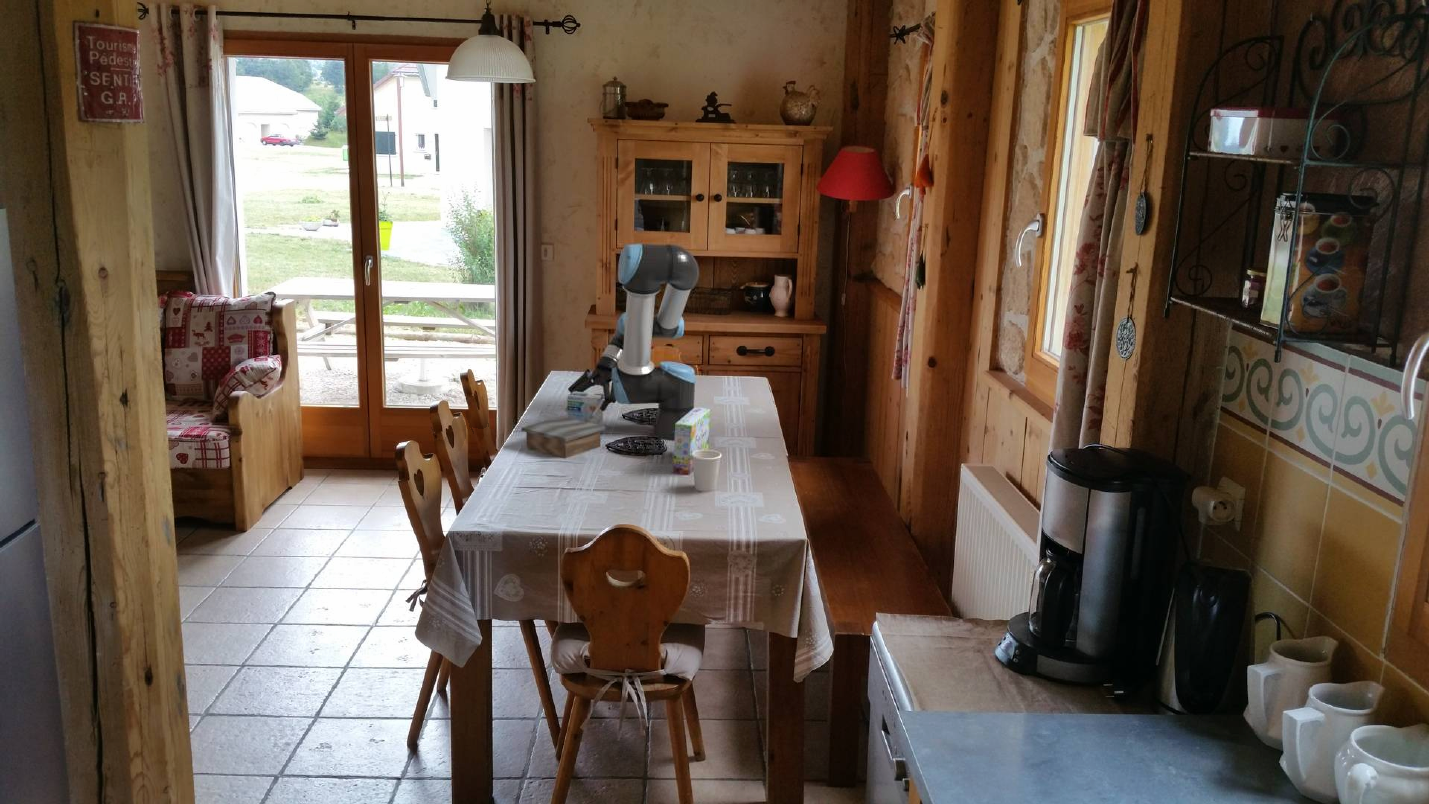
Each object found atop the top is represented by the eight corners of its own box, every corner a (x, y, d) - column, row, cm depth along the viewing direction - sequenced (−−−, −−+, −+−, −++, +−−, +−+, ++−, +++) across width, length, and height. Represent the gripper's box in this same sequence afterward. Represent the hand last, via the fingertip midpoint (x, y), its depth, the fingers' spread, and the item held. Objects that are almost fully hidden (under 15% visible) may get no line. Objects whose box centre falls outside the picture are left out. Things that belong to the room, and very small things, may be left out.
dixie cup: (709, 495, 294) (711, 460, 291) (684, 489, 298) (685, 454, 296) (725, 487, 301) (727, 453, 298) (700, 481, 305) (701, 447, 303)
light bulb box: (566, 427, 355) (566, 395, 352) (573, 422, 361) (573, 390, 359) (597, 430, 353) (598, 398, 350) (603, 424, 359) (604, 393, 357)
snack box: (690, 475, 310) (692, 425, 306) (671, 473, 311) (673, 423, 308) (709, 455, 330) (711, 407, 326) (691, 453, 331) (693, 406, 328)
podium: (605, 446, 335) (605, 426, 334) (565, 459, 321) (565, 438, 319) (561, 435, 345) (561, 416, 343) (521, 448, 330) (521, 427, 329)
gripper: (644, 373, 359) (614, 427, 350) (588, 362, 372) (558, 414, 363) (634, 360, 353) (603, 414, 345) (578, 350, 367) (547, 401, 358)
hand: (580, 414), depth 354 cm, fingers closed on light bulb box, 12 cm apart
